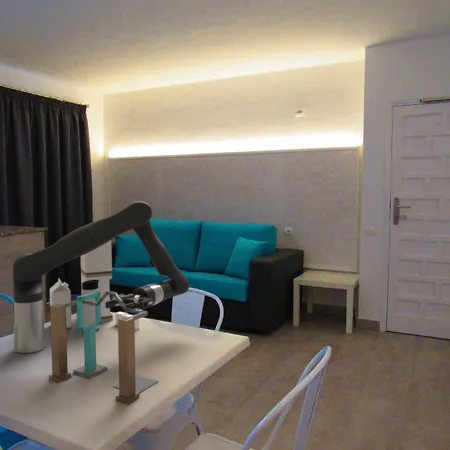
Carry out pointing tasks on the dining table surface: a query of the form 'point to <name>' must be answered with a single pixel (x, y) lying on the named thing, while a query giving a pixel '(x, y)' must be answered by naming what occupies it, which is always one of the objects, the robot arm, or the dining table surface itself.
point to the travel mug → (90, 309)
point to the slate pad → (141, 383)
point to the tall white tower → (99, 273)
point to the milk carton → (61, 298)
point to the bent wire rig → (124, 347)
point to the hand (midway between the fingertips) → (115, 306)
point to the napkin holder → (122, 314)
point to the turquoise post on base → (89, 338)
